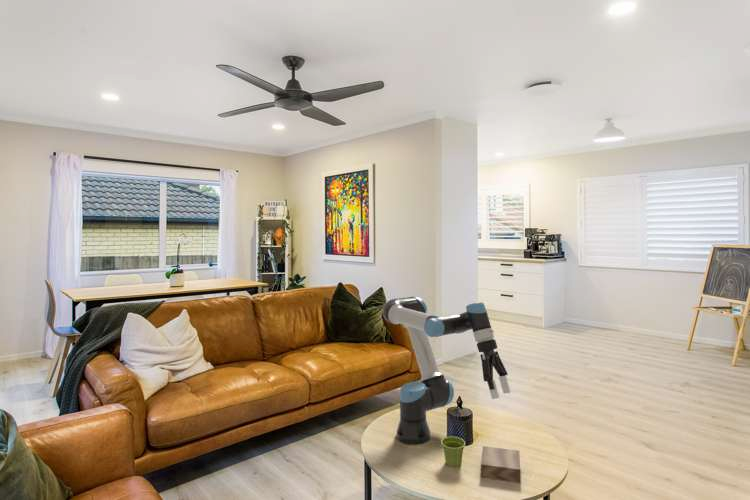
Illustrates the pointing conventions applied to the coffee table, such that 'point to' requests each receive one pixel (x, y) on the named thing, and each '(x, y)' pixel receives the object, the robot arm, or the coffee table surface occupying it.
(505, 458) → the block
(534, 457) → the coffee table surface
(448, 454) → the plant pot
